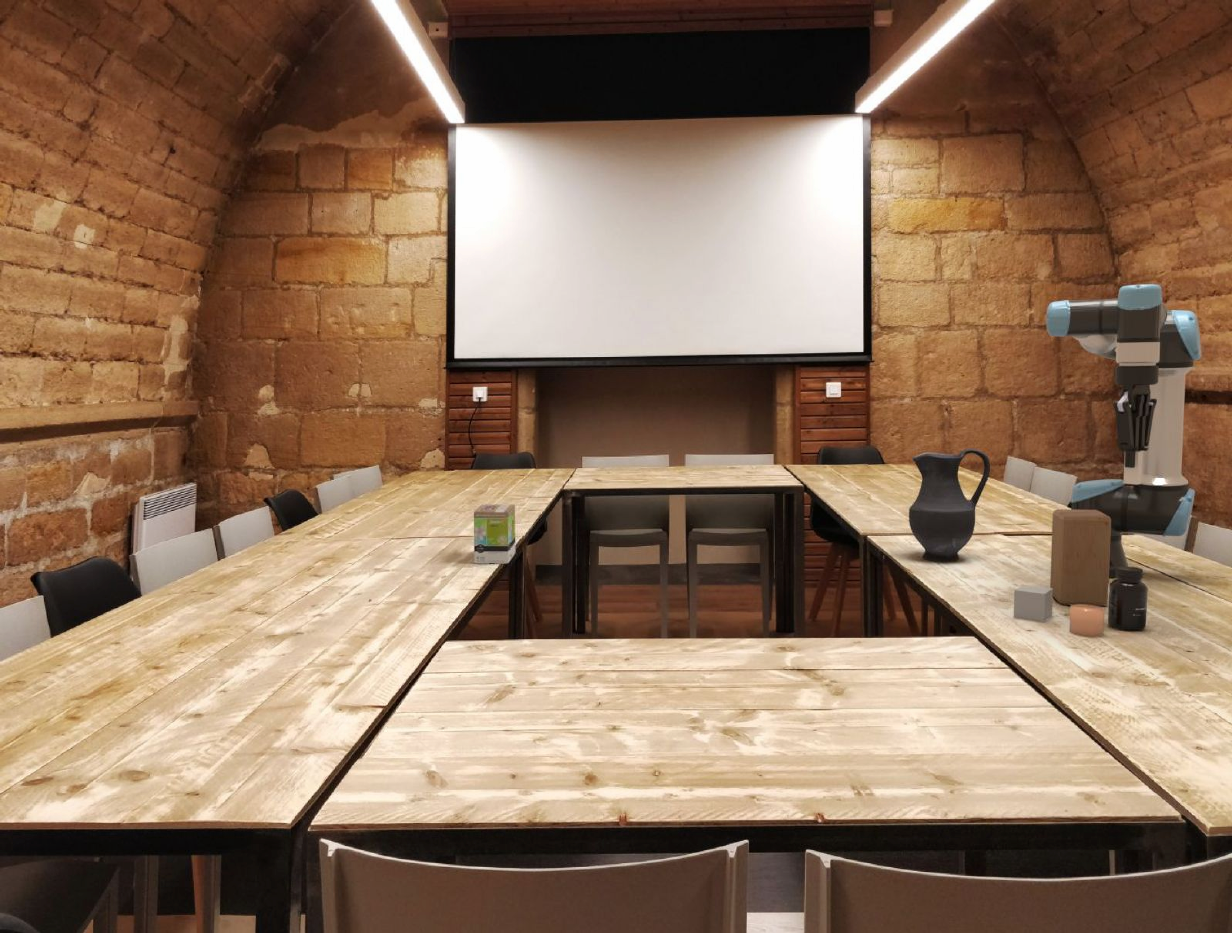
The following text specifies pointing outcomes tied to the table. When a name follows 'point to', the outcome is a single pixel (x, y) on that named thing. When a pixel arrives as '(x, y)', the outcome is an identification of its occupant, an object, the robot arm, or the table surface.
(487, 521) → the tea box
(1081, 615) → the terracotta puck
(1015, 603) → the grey cube
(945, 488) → the pitcher
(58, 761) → the table surface
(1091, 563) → the wooden block
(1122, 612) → the supplement bottle
